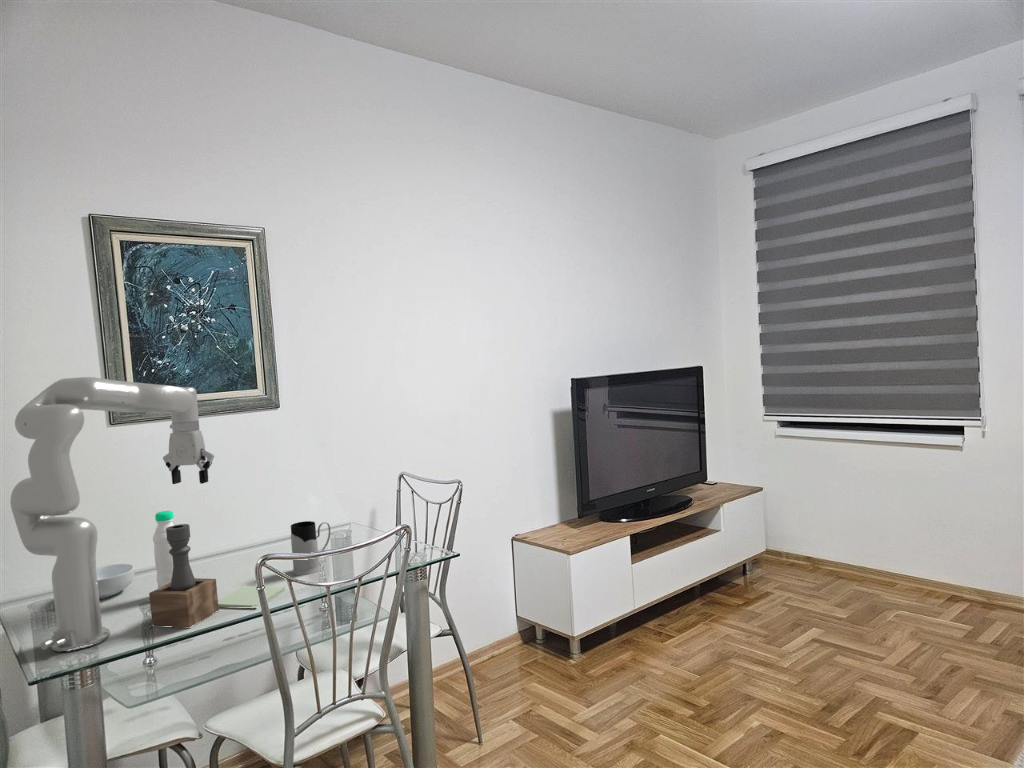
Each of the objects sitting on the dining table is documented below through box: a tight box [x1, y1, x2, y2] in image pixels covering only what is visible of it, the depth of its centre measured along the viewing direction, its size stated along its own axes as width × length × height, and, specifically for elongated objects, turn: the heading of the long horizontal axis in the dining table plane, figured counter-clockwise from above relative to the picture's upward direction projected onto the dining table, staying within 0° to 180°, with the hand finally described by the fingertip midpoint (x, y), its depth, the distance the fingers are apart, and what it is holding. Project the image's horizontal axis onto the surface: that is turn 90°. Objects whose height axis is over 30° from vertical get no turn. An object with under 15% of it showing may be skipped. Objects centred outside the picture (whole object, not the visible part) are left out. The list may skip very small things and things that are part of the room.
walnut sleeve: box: [148, 577, 220, 628], centre depth 187 cm, size 12×12×9 cm
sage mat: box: [218, 585, 286, 607], centre depth 199 cm, size 14×14×1 cm
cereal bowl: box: [96, 563, 135, 599], centre depth 211 cm, size 17×17×7 cm
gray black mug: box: [290, 520, 331, 576], centre depth 224 cm, size 9×14×15 cm, turn 140°
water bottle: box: [152, 510, 175, 589], centre depth 206 cm, size 7×7×25 cm
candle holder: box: [166, 523, 196, 591], centre depth 186 cm, size 6×6×25 cm
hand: (190, 483), depth 214 cm, fingers open, 9 cm apart
